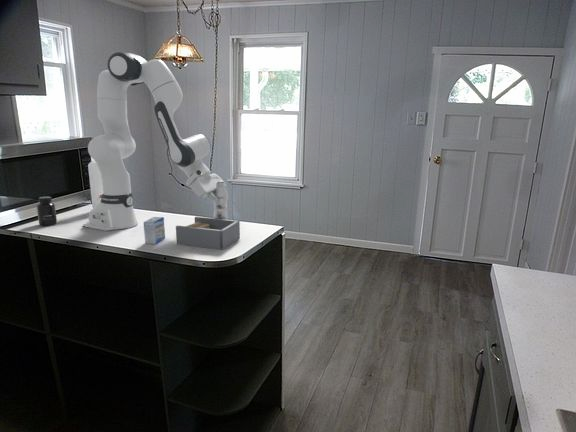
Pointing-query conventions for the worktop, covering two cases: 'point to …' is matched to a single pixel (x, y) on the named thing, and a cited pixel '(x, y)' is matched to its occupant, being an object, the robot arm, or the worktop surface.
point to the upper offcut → (199, 225)
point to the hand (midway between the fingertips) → (222, 199)
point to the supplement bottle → (46, 212)
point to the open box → (209, 233)
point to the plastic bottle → (221, 201)
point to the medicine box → (154, 230)
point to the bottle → (95, 182)
